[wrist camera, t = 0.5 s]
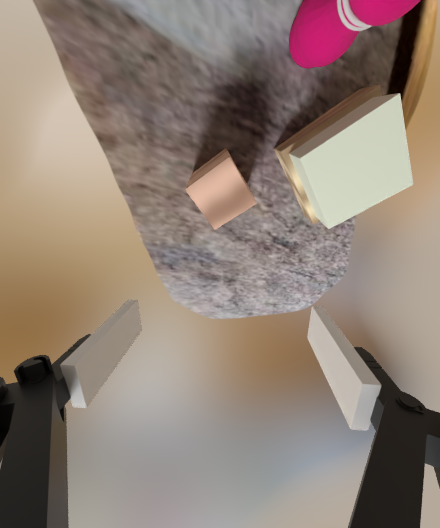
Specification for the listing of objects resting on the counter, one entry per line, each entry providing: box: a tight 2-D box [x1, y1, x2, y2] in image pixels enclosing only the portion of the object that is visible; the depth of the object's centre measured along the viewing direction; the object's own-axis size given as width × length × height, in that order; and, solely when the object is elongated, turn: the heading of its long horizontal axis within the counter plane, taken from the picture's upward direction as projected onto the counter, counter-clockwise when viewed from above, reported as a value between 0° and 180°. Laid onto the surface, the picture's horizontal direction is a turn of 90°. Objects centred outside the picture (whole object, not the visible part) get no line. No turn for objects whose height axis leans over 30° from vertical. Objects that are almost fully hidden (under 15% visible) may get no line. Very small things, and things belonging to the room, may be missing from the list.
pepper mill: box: [289, 0, 420, 68], centre depth 20 cm, size 7×7×20 cm
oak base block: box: [274, 84, 382, 225], centre depth 35 cm, size 14×14×5 cm
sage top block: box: [289, 93, 413, 229], centre depth 31 cm, size 12×12×5 cm
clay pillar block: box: [185, 148, 257, 229], centre depth 33 cm, size 7×7×11 cm
